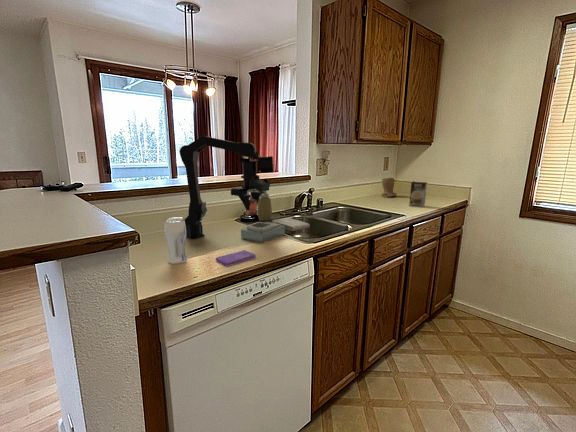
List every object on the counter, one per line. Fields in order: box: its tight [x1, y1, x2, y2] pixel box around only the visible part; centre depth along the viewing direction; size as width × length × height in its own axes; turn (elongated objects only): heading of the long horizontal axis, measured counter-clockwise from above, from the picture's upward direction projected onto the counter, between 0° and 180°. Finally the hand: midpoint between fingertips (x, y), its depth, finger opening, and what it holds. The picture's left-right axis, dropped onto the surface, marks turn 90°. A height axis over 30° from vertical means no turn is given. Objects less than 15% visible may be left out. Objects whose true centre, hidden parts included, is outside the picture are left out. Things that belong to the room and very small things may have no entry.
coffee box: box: [408, 180, 428, 208], centre depth 208 cm, size 9×6×16 cm
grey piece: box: [240, 221, 286, 244], centre depth 140 cm, size 19×12×6 cm, turn 145°
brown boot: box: [380, 177, 398, 198], centre depth 248 cm, size 15×12×15 cm
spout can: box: [245, 196, 258, 216], centre depth 136 cm, size 5×5×8 cm
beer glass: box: [163, 217, 188, 265], centre depth 108 cm, size 7×7×15 cm
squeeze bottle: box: [256, 191, 273, 222], centre depth 168 cm, size 8×8×18 cm
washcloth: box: [271, 217, 311, 232], centre depth 158 cm, size 12×18×3 cm, turn 42°
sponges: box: [215, 249, 257, 267], centre depth 112 cm, size 7×13×2 cm, turn 133°
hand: (251, 209), depth 136 cm, fingers closed on spout can, 5 cm apart
